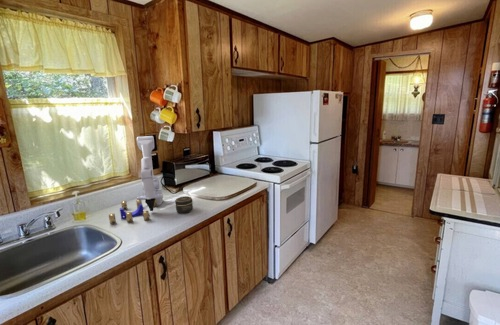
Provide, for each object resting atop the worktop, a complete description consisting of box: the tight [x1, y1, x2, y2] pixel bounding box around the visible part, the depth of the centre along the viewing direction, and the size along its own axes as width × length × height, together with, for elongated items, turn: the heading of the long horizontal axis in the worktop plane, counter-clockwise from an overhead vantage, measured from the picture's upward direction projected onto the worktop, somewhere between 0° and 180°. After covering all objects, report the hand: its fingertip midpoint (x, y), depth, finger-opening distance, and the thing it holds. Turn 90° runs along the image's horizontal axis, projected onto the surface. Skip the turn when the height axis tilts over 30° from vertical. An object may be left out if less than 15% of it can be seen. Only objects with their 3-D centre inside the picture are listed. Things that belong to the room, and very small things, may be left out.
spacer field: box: [108, 199, 158, 225], centre depth 154 cm, size 21×23×5 cm
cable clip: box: [119, 203, 144, 220], centre depth 152 cm, size 12×4×6 cm, turn 119°
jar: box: [174, 195, 194, 215], centre depth 155 cm, size 10×10×8 cm
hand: (151, 210), depth 155 cm, fingers closed
